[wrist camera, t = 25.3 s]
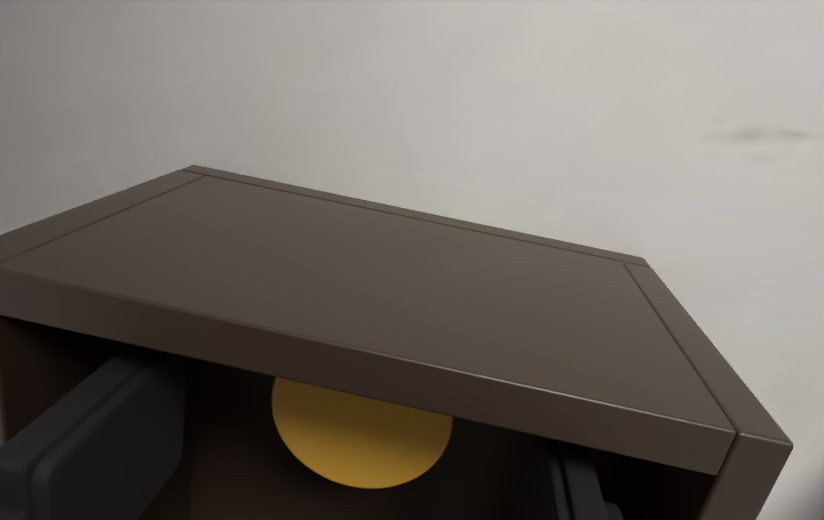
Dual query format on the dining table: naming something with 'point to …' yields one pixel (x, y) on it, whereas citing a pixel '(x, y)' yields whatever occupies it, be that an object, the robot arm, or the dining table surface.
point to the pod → (357, 435)
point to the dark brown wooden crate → (380, 350)
